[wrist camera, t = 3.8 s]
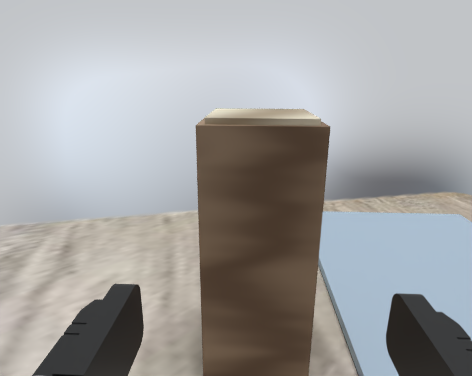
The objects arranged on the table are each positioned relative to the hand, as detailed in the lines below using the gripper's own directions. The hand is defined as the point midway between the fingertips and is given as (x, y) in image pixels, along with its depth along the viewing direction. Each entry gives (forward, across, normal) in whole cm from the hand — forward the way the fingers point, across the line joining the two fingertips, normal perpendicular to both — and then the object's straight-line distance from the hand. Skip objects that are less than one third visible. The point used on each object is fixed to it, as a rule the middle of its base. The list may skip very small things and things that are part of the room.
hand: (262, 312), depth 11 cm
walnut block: (+6, 0, +7) cm, 9 cm away
